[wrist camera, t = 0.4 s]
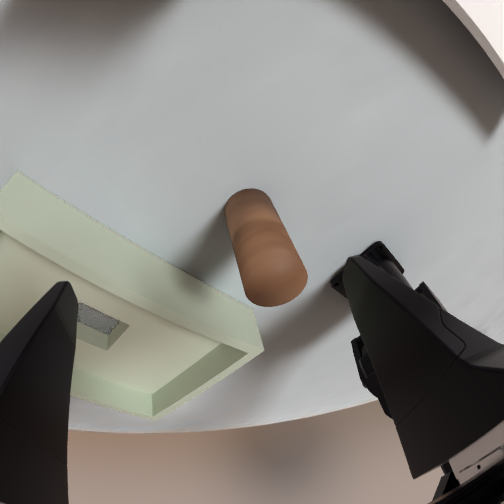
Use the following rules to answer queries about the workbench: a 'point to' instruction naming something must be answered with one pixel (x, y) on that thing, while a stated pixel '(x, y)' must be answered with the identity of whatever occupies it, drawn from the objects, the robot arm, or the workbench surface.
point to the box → (120, 306)
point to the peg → (263, 250)
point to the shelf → (483, 25)
